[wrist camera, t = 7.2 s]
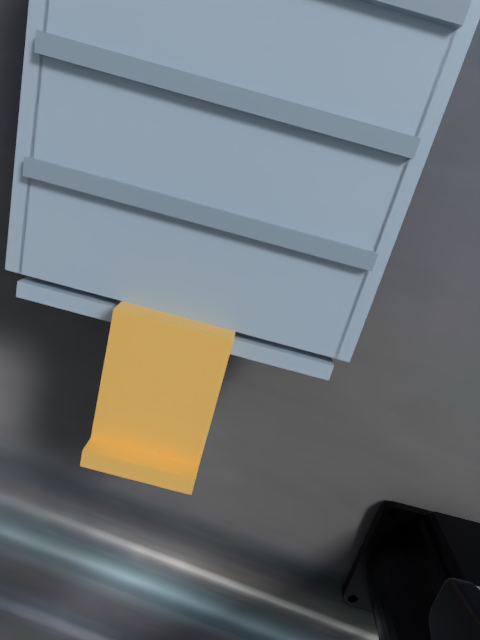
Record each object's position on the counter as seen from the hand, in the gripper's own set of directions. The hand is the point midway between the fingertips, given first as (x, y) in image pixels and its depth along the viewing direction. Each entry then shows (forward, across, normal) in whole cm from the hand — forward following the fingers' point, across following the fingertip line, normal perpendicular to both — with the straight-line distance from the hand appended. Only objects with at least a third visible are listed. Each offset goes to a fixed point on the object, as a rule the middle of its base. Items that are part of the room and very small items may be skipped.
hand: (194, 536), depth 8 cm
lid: (+8, +2, -5) cm, 10 cm away
